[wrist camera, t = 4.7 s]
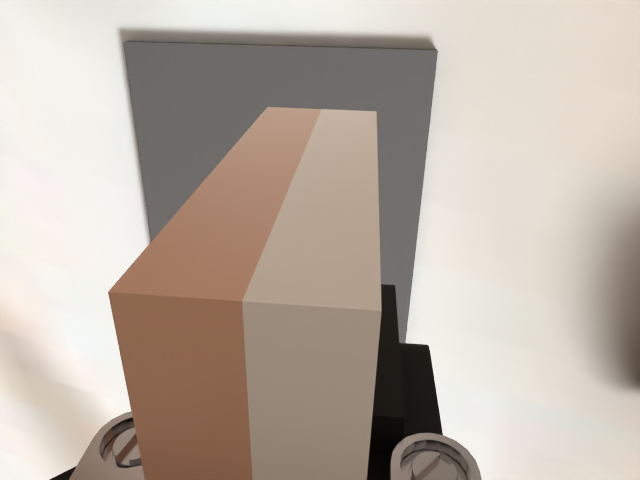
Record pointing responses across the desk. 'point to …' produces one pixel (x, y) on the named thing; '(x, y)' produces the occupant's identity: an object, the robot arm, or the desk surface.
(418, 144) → the mat
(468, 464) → the robot arm
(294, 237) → the block
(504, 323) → the desk surface
